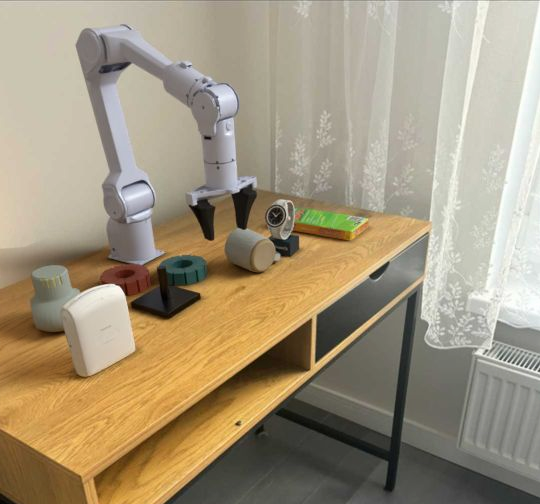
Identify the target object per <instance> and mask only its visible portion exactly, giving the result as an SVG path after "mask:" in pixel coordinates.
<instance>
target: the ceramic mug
mask: <svg viewBox="0 0 540 504" xmlns="http://www.w3.org/2000/svg"><path fill="white" fill-rule="evenodd" d="M268 238H269V237H267V236H266V235H262V234H260V233H258V232H256V231H254V230H252V229H250V228H248V227H247V229H246V230H242V229H240V228H237V227H236V228H235V229H233V230H232V231H231V232H230V233H229V234H228V236H227V238H226V240H225V243H224V254H225V257H226V259H227V260H228V261H229V262H230V263H231V264H233V265H236V266H238V267H241V268H243V269H246V270H248V271H250V272H254V273H264V272H266V271H267V270H268V269H269V268H270V267H271V266H272V265H273V263H274V262H279V261H280V259H281V255H280V253H278V252H276V251H275V246H274V244H273V242H272V241H271V240H269V239H268Z"/></svg>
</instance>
